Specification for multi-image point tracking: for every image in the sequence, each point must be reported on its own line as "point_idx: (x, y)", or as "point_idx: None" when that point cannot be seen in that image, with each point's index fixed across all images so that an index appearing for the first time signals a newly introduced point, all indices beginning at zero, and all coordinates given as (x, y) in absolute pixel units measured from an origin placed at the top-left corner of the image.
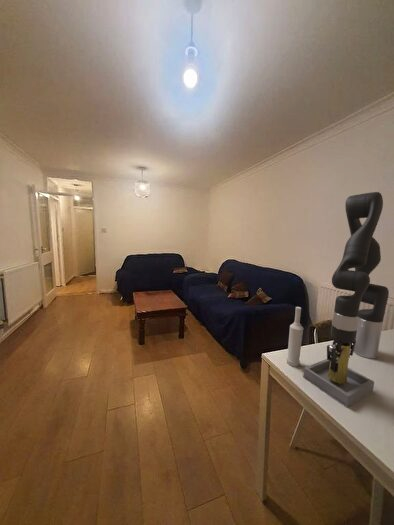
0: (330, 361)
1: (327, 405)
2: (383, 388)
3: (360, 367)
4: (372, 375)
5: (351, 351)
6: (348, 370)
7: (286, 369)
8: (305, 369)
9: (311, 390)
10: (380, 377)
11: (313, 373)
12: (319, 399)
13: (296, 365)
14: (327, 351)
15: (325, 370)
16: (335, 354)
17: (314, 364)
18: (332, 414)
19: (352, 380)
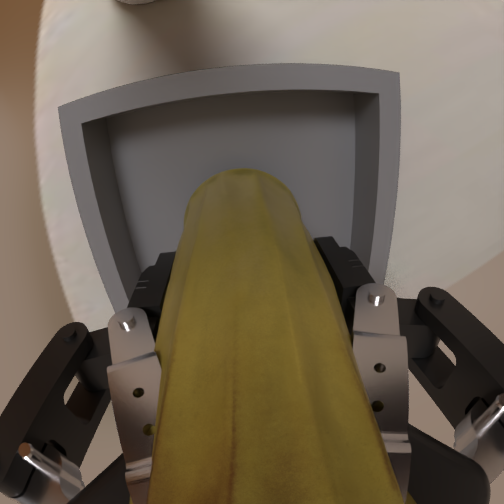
0: (192, 241)
1: (81, 289)
2: (411, 295)
3: (485, 176)
4: (465, 232)
5: (420, 379)
6: (371, 226)
7: (61, 26)
8: (62, 118)
9: (67, 205)
10: (471, 251)
11: (74, 178)
12: (68, 258)
13: (133, 3)
14: (10, 411)
15: (281, 106)
16: (78, 453)
17: (172, 81)
18: (75, 318)
19: (343, 238)
